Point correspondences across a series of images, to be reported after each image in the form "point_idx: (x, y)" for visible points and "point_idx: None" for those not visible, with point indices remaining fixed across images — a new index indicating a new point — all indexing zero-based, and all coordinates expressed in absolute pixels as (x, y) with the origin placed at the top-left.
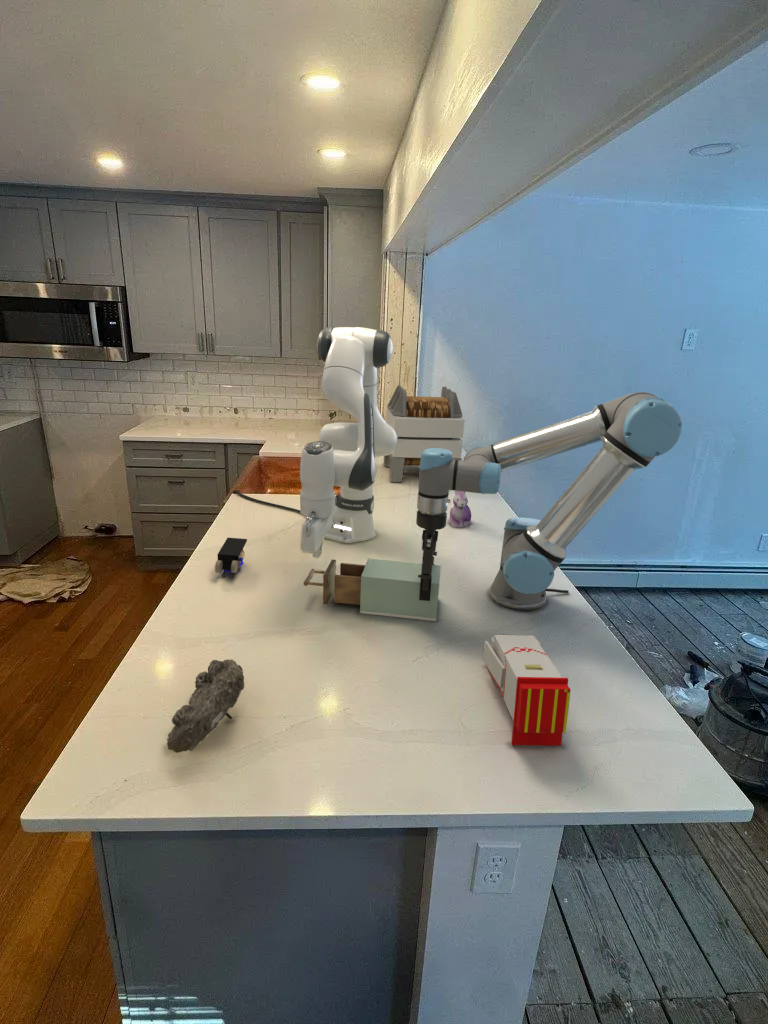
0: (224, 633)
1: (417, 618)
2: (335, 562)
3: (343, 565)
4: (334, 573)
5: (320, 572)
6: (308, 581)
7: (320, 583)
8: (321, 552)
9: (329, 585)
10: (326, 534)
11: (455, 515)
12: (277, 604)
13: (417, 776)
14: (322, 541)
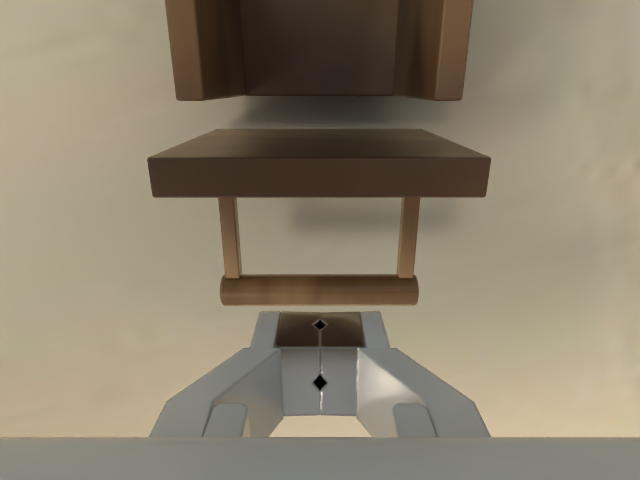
0: None
1: None
2: (175, 154)
3: (203, 67)
4: (231, 142)
5: (238, 241)
6: (399, 282)
7: (412, 203)
8: (285, 317)
9: (395, 140)
10: (95, 449)
11: None
12: (410, 348)
13: None
14: (242, 407)
